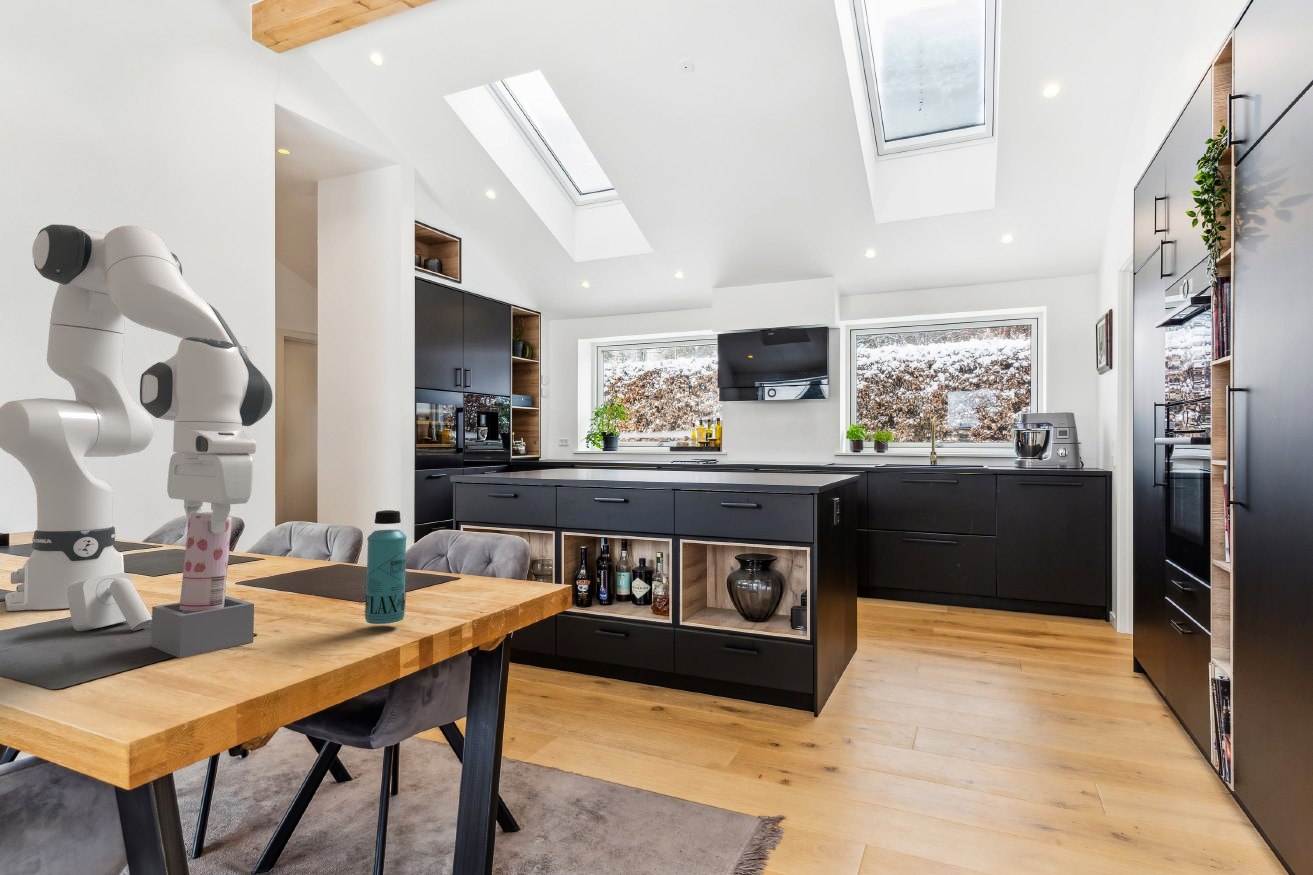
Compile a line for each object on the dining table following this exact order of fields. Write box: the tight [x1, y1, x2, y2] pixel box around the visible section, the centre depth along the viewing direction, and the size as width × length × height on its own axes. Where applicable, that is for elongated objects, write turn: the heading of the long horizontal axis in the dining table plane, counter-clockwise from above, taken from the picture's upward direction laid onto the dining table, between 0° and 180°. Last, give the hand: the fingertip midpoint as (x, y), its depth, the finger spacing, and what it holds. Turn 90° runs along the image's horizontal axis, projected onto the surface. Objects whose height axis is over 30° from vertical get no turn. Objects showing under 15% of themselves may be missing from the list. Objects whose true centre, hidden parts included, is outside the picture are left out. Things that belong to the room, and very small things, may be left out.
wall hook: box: [67, 572, 152, 632], centre depth 111 cm, size 8×10×10 cm
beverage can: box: [179, 511, 233, 613], centre depth 104 cm, size 6×6×15 cm
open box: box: [150, 595, 255, 659], centre depth 103 cm, size 10×10×6 cm
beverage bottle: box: [364, 509, 408, 625], centre depth 114 cm, size 6×7×20 cm
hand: (206, 530), depth 103 cm, fingers closed on beverage can, 6 cm apart
